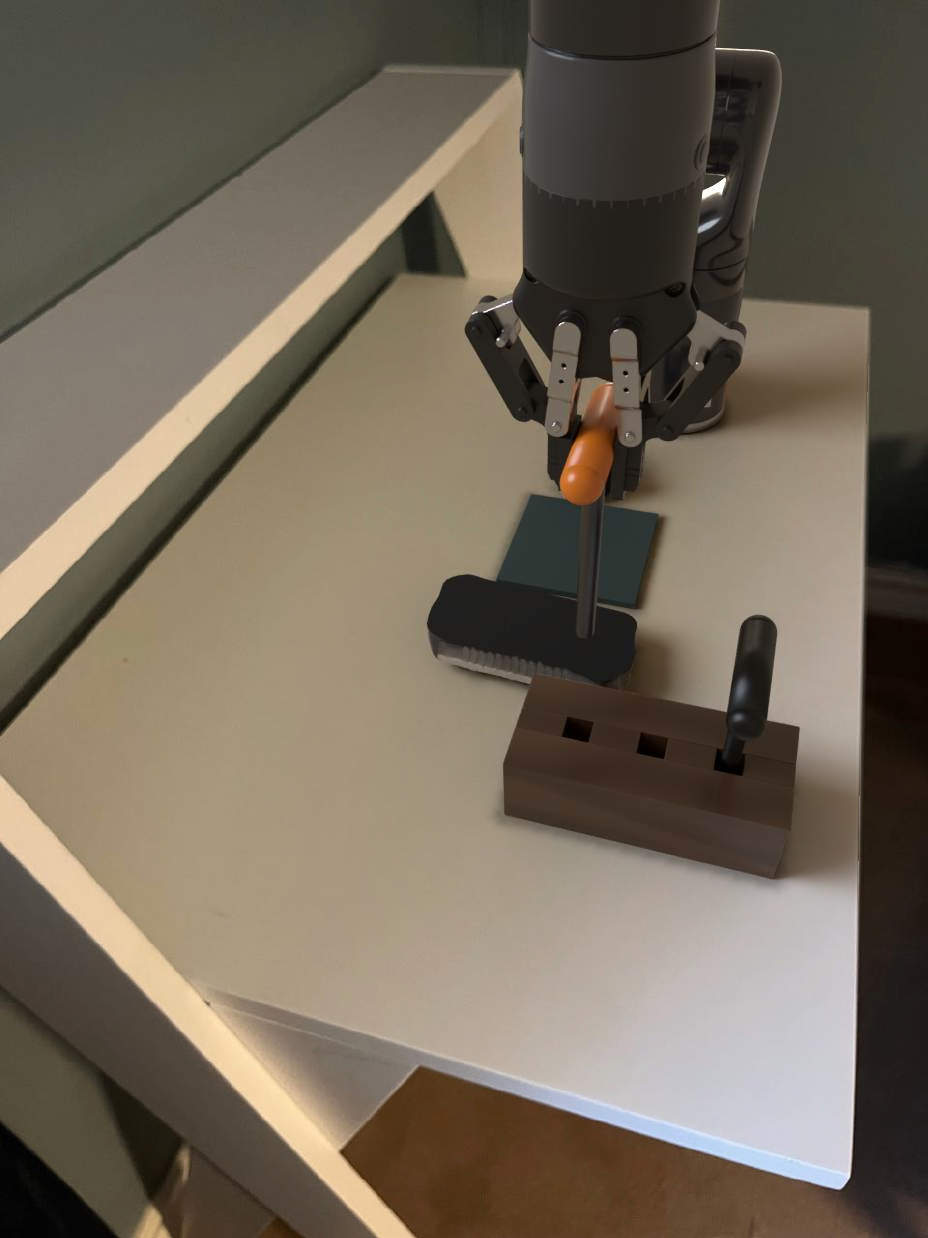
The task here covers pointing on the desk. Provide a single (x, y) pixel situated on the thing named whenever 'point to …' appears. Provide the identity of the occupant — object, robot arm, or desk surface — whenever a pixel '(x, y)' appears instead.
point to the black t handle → (749, 688)
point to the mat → (552, 550)
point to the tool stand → (650, 775)
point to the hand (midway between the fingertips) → (593, 485)
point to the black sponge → (527, 634)
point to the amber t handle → (590, 495)
